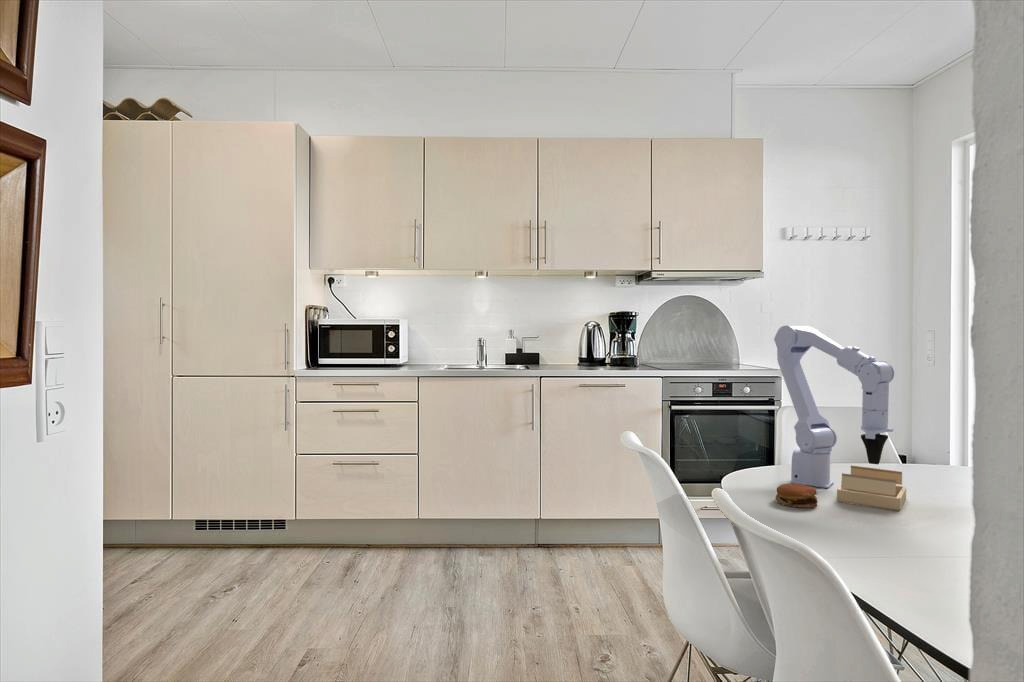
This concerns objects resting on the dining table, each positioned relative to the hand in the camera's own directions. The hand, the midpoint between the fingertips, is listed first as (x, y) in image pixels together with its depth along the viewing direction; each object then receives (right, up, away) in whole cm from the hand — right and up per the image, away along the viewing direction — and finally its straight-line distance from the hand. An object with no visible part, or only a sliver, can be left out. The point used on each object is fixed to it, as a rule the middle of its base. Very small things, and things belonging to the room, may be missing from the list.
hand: (873, 463), depth 166 cm
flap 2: (-5, -6, -7) cm, 10 cm away
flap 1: (+3, -6, +4) cm, 8 cm away
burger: (-21, -9, -5) cm, 24 cm away
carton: (-1, -9, -1) cm, 9 cm away
